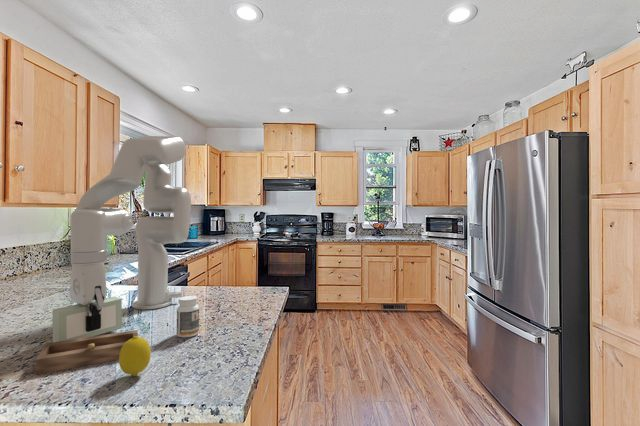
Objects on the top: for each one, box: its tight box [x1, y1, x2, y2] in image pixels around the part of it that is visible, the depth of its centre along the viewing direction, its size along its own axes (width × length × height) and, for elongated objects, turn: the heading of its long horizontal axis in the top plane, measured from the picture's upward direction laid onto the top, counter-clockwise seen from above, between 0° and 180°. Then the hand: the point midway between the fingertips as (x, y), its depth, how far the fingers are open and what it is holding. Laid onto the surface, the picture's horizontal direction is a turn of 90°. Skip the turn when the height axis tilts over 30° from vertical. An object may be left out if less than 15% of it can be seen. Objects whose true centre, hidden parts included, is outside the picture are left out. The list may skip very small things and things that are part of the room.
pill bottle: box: [175, 295, 200, 338], centre depth 88 cm, size 6×6×10 cm
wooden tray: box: [35, 329, 139, 376], centre depth 74 cm, size 18×10×4 cm, turn 121°
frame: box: [52, 296, 123, 343], centre depth 84 cm, size 14×4×8 cm, turn 146°
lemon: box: [118, 335, 152, 377], centre depth 65 cm, size 6×6×8 cm
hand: (89, 327), depth 84 cm, fingers closed on frame, 4 cm apart
